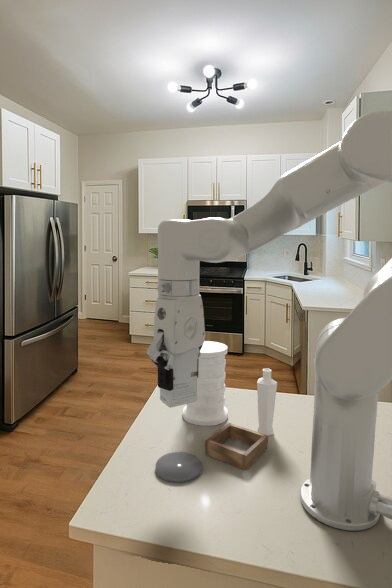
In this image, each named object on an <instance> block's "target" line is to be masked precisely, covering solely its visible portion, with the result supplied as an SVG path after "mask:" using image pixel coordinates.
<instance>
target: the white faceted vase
mask: <svg viewBox="0 0 392 588" xmlns="http://www.w3.org/2000/svg"><path fill="white" fill-rule="evenodd" d="M272 371H273V370H272V369H270V368H262V377H260V378H258V379H257V382H256V387H257V388H256V389H257V392H256V393H257V414H258V416H257V417H258V428H257V431H256V432H259V433H262V434H265V435H268V437H269V436H272V435H274V434H275V432H274V428H273V427H274V426H273V422H274V414H275V408H276V407H275V406H276V397H277V389H278V382H277V381H276V380H275V379H273V378H272Z"/></svg>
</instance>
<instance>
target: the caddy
mask: <svg viewBox="0 0 392 588" xmlns="http://www.w3.org/2000/svg"><path fill="white" fill-rule="evenodd" d="M230 439H233V440H235V441H238V442H240V443H243V444H247V445H250V447H249V448H248V449H247V450H246V451H241V450H239V449H236V448H234V447H230V446H228V445H225V443H226V442H227V441H228V440H230ZM268 444H269V436H268V435H265V434H262V433H259V432H257V431H255V430H252V429H249V428H246V427H244V426H239V425H237V424H234V423H231V422H229V423H227V424H225V426H224V425H223V427H222V428H220V429H219V430H218V431H216V432H214V433H213V434H212V435H211V436H209V437H208V438H207V439H205V440H204V454H205V455H206V456H209V457H211V458H214V459H216V460H219V461H222V462H225V463H226V464H229V465H231V466H234V467H237V468H239V469H242V470H243V471H244V470H245V471H247V470H248V469H249V468H250V467H251V466H252V465H253V464H254V463H255V462H256V461H257V460H258V459H259V458H260V457H261V456H262V455H263V454H264V453H265V452H266V451H267V450H268V447H269V445H268Z"/></svg>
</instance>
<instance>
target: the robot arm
mask: <svg viewBox="0 0 392 588" xmlns="http://www.w3.org/2000/svg"><path fill="white" fill-rule="evenodd" d="M383 183H390V184H392V110H377V111H376V110H375V111H372V112H368V113H365V114H363V115H360V116H359V117H358V118H356V119H355V120H354V121H353V122H352V123H351V124H350V125H349V126H348V127H347V128H346V130H345V131H344V133H343V136H342V138H341V140H340V141H338V142H337V143H335V144H333V145H331V146H330V147H329V148H327V149H325V150H324V151H322V152H320V153H318V154H316V155H314V156H313V157H311V158H309V159H308V160H306V161H304V162H302V163H300V164H299V165H298V166H296V167H293V168H292V169H290V170H288V171H287V172H285V173H284V174H283V175H281V176H280V177H279V178H278V179H277V180H276V182H275V183H274V185H273V186H272V187H271V189H269V192H268V193H267V194H266V195H265V196H263V198H260V200H259V201H257V202H256V203H255V204H253V205H251V206H249V207H248V208H246V209H244V210H243V211H241V212H239V213H238V214H236V215H234V216H231V217H230V218H223V217H218V216H217V217H206V218H205V217H204V218H201V219H193V220H191V219H166V220H162V221H161V222H159V224H158V227H157V287H156V291H157V298H156V303H155V309H154V321H153V340H152V342H151V343H150V345H149V346H148V347H147V349H146V354H147V356H148V357H149V358H150V360H151V362H152V363H154V367H155V368H157V387H158V388H159V389H160V388H162V389H165V390H168V391H171V390H173V369H172V368H171V365H172V361H173V358H174V355H179V354H182V353H185V352H187V351H190V350H193V349H195V348H197V347H198V357H197V378H198V361H199V357H200V350H201V348H202V346H203V343H204V341H206V340H205V339H206V337H207V334H206V332H205V330H206V328H205V315H204V305H203V299H202V295H201V294H200V269H201V268H200V267H201V266H200V263H201V262H205V263H215V264H217V263H225V262H229V261H235V260H238V259H239V258H242V257H244V256H245V255H247V254H250V253H252V252H253V251H255V250H257V249H259V248H262V247H263V246H266V245H267V244H269V243H270V242H273V241H275V240H277V239H278V238H280V237H282V236H284V235H285V234H288V233H289V232H292V231H294V230H296V229H299V228H300V227H302V226H303V225H306V224H308V223H309V222H311V221H313V220H315V219H317V218H319V217H320V216H322V215H324V214H326V213H328V212H330V211H332V210H334V209H336V208H337V207H340V206H341V205H343V204H345V203H347V202H349V201H351V200H354V199H355V198H357V197H360V196H361V195H363V194H365V193H368V192H369V191H371V190H373V189H375V188H377V187H379V186H381V185H382V184H383ZM315 344H316V345H315V351H314V357H313V367H314V373H315V379H314V397H313V412H312V413H313V415H312V432H311V433H312V436H311V453H310V454H311V456H310V457H311V458H310V477H309V478H308V479H305V481H303V482H302V485H301V486H300V489H299V499H300V502H301V505H302V507H303V508H304V509H305V511H306V512H307V513H308V514H310V515H311V517H313V518H314V519H316V520H318V522H321V523H322V524H325V525H327V526H329V527H332V528H335V529H340V530H343V531H350V532H351V531H363V530H368V529H370V528H373V526H375V525H376V524H377V523H378V521H379V520H380V516H383V517H386V518H387V519H389V520H392V497H391V496H388V495H383V494H381V493H380V491H377V490H376V488H377V481H375V480H373V468H374V467H373V466H374V465H373V464H374V457H375V455H374V452H375V442H376V439H375V438H376V426H377V425H376V424H377V418H378V417H377V416H378V399H379V397H378V396H379V391H381V390H382V389H383V388H385V387H386V386H387V385H388V384H389V383H390V382H391V381H392V257H391V258H390V259H389V260H388V261H387V262H386V263H385V264H384V266H382V268H381V269H380V270H378V271H377V272H376V273H375V274H374V275H373V276H371V278H370V279H369V280H368V282H367V284H366V285H365V288H364V291H363V298H362V299H361V300H360V301H359V302H358V303H357V304H356V306H355V307H354V308H353V309H352V310H351V311H350V312H349V313H348V315H347V316H346V317H340V318H337V319H334V320H332V321H330V322H328V323H327V324H326V325H325V326H324V327H323V328H322V329H321V331H320V333H319V335H318V337H317V340H316V343H315ZM165 349H167V351H166V350H165ZM164 354H166V355H168V356H167V359H166V360H165V359H164Z"/></svg>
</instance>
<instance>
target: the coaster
mask: <svg viewBox="0 0 392 588" xmlns="http://www.w3.org/2000/svg"><path fill="white" fill-rule="evenodd" d="M202 471H203V463H202V460H201V459H200V457H198V456H197V455H196V454H193V453H190V452H186V451H173V452H168V453H166V454H164V455H162V456H160V457H159V458H158V459H157V460H156V462H155V473H156V475H157V476H158V478H160V479H162V480H164V481H165V482H168V483H176V484H180V483H187V482H191V481H193V480H195V479H197V478H198V477H199V476H200V475H201V474H202Z"/></svg>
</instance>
